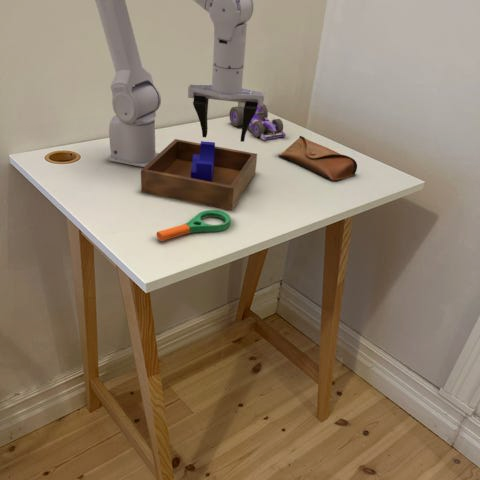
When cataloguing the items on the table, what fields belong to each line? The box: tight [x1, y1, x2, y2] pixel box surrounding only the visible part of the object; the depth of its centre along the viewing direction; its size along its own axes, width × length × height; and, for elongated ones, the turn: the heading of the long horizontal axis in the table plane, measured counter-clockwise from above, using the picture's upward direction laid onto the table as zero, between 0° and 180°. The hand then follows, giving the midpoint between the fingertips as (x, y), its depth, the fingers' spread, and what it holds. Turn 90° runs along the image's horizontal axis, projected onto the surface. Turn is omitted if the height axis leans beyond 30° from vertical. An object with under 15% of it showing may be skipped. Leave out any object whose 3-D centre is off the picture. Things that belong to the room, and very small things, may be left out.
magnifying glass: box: [155, 209, 231, 242], centre depth 93 cm, size 15×6×2 cm, turn 131°
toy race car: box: [228, 102, 286, 142], centre depth 135 cm, size 10×15×6 cm, turn 33°
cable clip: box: [191, 140, 216, 182], centre depth 107 cm, size 12×4×6 cm, turn 179°
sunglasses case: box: [278, 135, 358, 182], centre depth 121 cm, size 18×7×7 cm, turn 44°
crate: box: [140, 138, 258, 211], centre depth 108 cm, size 19×19×5 cm
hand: (223, 137), depth 104 cm, fingers open, 7 cm apart
